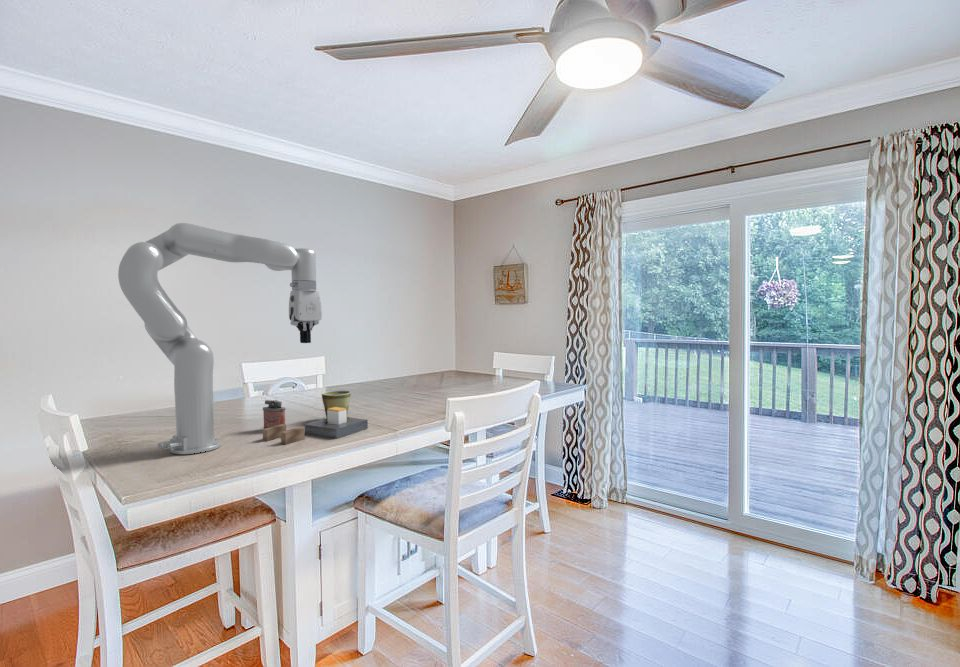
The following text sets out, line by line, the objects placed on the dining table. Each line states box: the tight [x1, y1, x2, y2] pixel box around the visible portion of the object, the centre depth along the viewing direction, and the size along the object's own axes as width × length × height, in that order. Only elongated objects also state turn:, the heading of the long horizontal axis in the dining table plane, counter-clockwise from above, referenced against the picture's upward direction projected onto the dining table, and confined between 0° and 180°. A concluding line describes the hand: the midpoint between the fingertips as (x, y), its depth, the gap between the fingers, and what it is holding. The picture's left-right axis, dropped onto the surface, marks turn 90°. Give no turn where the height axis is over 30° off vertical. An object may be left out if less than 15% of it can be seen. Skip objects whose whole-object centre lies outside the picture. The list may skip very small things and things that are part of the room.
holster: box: [262, 424, 305, 445], centre depth 148 cm, size 7×10×4 cm
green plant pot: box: [321, 389, 352, 419], centre depth 174 cm, size 13×10×10 cm
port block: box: [303, 416, 369, 440], centre depth 157 cm, size 14×14×3 cm
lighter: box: [262, 399, 286, 430], centre depth 160 cm, size 8×3×10 cm, turn 74°
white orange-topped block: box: [327, 407, 348, 425], centre depth 158 cm, size 4×5×7 cm
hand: (305, 342), depth 158 cm, fingers closed
